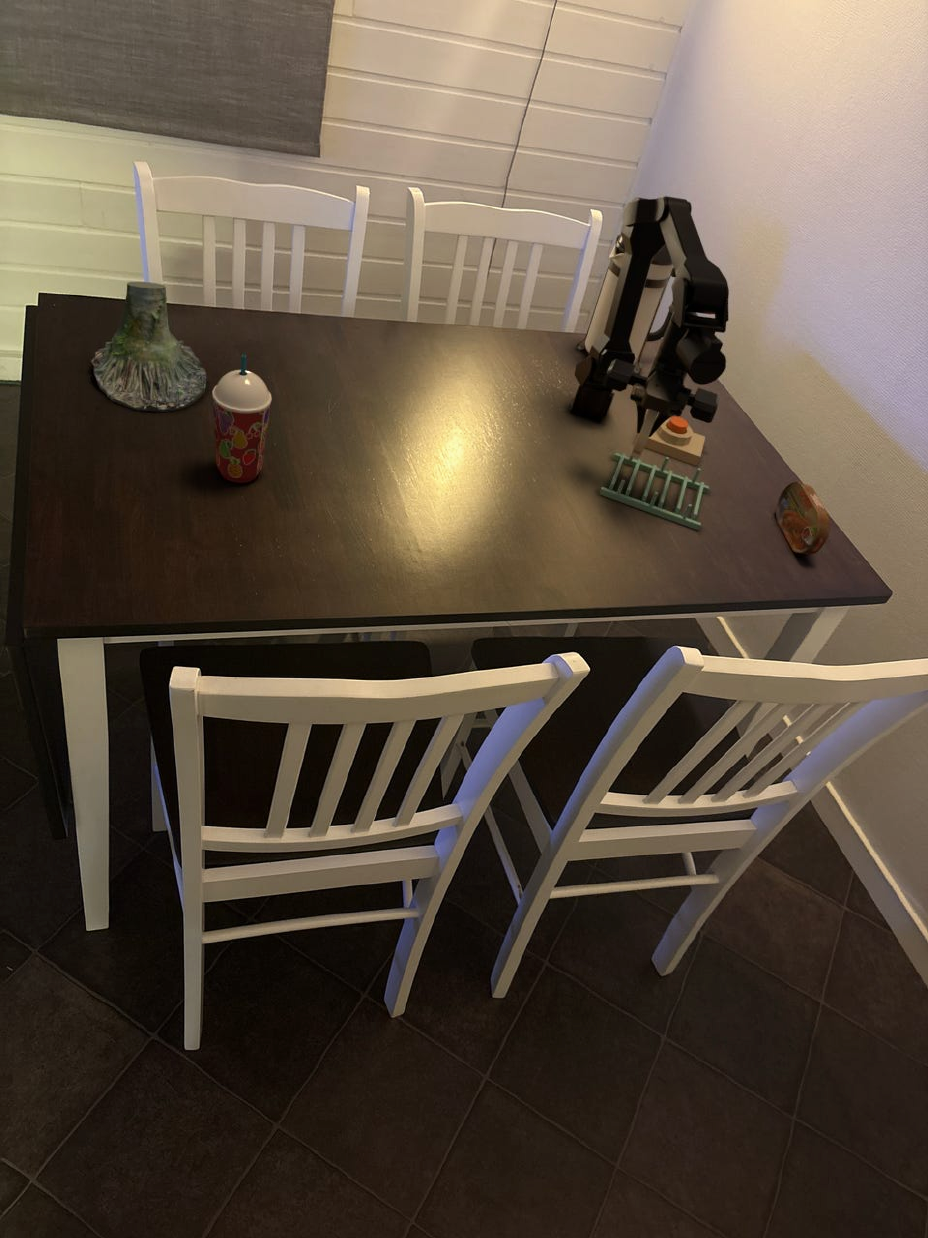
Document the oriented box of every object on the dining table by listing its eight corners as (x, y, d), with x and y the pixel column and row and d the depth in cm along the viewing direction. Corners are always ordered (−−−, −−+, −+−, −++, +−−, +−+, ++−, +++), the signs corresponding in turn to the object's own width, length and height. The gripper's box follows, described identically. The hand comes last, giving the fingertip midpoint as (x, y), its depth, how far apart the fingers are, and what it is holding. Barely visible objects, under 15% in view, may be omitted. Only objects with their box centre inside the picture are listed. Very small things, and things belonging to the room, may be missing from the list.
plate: (628, 461, 152) (647, 413, 145) (637, 436, 158) (656, 389, 152) (637, 464, 152) (656, 416, 145) (645, 439, 158) (665, 392, 152)
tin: (770, 509, 163) (791, 471, 158) (786, 511, 164) (808, 473, 158) (797, 563, 153) (821, 525, 147) (814, 565, 153) (838, 527, 148)
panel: (635, 444, 170) (643, 426, 167) (642, 425, 176) (650, 407, 173) (696, 466, 169) (704, 448, 166) (701, 446, 175) (709, 428, 172)
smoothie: (276, 469, 141) (284, 354, 128) (249, 495, 135) (255, 378, 122) (229, 450, 142) (232, 334, 129) (200, 475, 136) (201, 357, 123)
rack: (599, 494, 155) (606, 475, 152) (613, 457, 165) (620, 439, 162) (698, 530, 153) (707, 512, 151) (706, 491, 163) (715, 473, 160)
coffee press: (630, 388, 186) (684, 245, 165) (563, 357, 189) (608, 213, 169) (659, 361, 198) (712, 225, 177) (595, 332, 201) (640, 196, 181)
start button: (665, 430, 169) (668, 422, 167) (668, 421, 171) (671, 414, 170) (683, 437, 168) (687, 429, 167) (686, 428, 171) (689, 420, 170)
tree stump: (89, 412, 142) (74, 295, 133) (98, 375, 159) (86, 269, 150) (208, 413, 147) (202, 300, 138) (206, 377, 164) (200, 274, 155)
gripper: (612, 351, 137) (582, 437, 148) (728, 392, 135) (689, 476, 146) (625, 324, 145) (596, 407, 156) (735, 362, 143) (698, 444, 154)
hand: (643, 434), depth 153 cm, fingers closed on plate, 2 cm apart
